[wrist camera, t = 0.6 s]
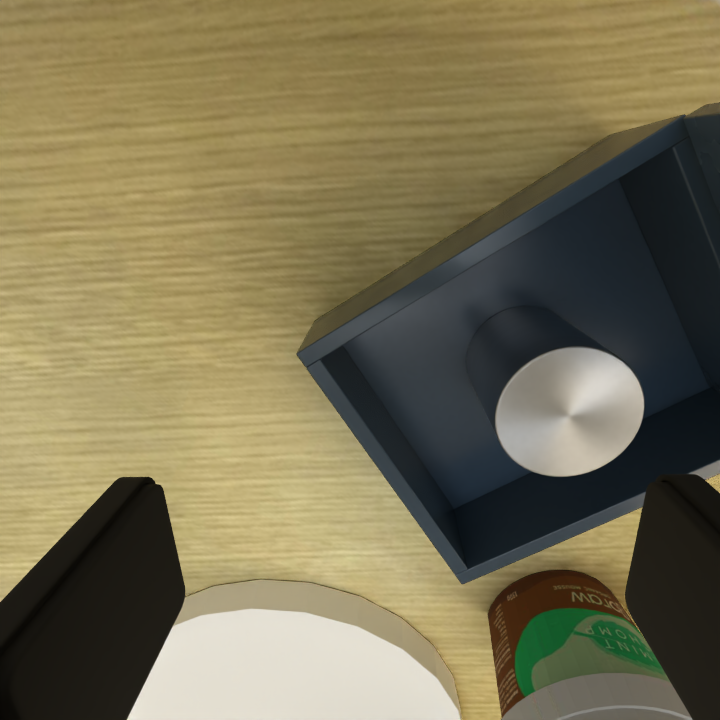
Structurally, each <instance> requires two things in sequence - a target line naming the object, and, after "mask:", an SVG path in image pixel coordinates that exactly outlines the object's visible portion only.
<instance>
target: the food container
mask: <svg viewBox="0 0 720 720" xmlns="http://www.w3.org/2000/svg"><path fill="white" fill-rule="evenodd" d="M488 619H489V627H490V634H491V641H492V649H493V656H494V664H495V671H496V678H497V686H498V693H499V701H500V708H501V715H502V719H501V720H693V719H692V718H691V716H690V714H689V713H688V711H687V709H686V707H685V706H684V704H683V702H682V701H681V699H680V697H679V696H678V694H677V692H676V691H675V689H674V687H673V685H672V684H671V682H670V680H669V679H668V677H667V675H666V674H665V672H664V670H663V669H662V667H661V665H660V664H659V662H658V660H657V658H656V657H655V655H654V653H653V652H652V650H651V648H650V647H649V645H648V643H647V642H646V640H645V639H644V637H643V636H642V635H641V633H640V632H639V630H638V629H637V627H636V626H635V625H634V623H633V622H632V620H631V619H630V618H629V616H628V615H627V613H626V612H625V610H624V609H623V608H622V606H621V605H620V603H619V602H618V600H617V599H616V598H615V596H614V595H613V593H612V592H611V591H610V590H609V589H608V588H607V587H606V586H604V585H603V584H602V583H601V582H600V581H599V580H597V579H595V578H593V577H590V576H588V575H586V574H583V573H579V572H575V571H567V570H550V571H544V572H539V573H535V574H532V575H529V576H526V577H524V578H522V579H519V580H518V581H516V582H514V583H513V584H511V585H510V586H508V587H507V588H506V589H505V590H503V591H502V592H501V593H500V594H499V596H498V597H497V598H496V599H495V601H494V602H493V604H492V605H491V607H490V610H489V612H488Z"/></svg>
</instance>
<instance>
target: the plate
mask: <svg viewBox="0 0 720 720" xmlns="http://www.w3.org/2000/svg"><path fill="white" fill-rule="evenodd" d="M127 720H462V715H461V708H460V704H459V699H458V695H457V691H456V686H455V682H454V677H453V675H452V674H451V672H450V671H449V669H448V668H447V666H446V664H445V663H444V661H443V660H442V658H441V657H440V655H439V653H438V652H437V650H436V649H435V647H434V646H433V645H432V644H431V643H430V642H429V641H428V640H426V639H425V638H424V637H423V636H422V635H421V634H419V633H418V632H417V631H416V630H415V629H414V628H413V627H411V626H410V625H409V624H408V623H407V622H406V621H405V620H403V619H402V618H401V617H399V616H397V615H395V614H393V613H391V612H389V611H387V610H385V609H383V608H382V607H380V606H378V605H376V604H374V603H372V602H370V601H368V600H366V599H364V598H362V597H360V596H357V595H354V594H350V593H346V592H343V591H339V590H335V589H332V588H328V587H325V586H321V585H317V584H314V583H307V582H292V581H277V580H262V579H260V580H253V581H246V582H239V583H232V584H225V585H218V586H213V587H210V588H208V589H205V590H203V591H200V592H198V593H195V594H192V595H190V596H187V597H185V599H184V603H183V606H182V609H181V611H180V613H179V615H178V617H177V619H176V621H175V623H174V625H173V627H172V629H171V631H170V633H169V635H168V637H167V639H166V641H165V643H164V645H163V647H162V649H161V651H160V653H159V656H158V658H157V660H156V662H155V664H154V666H153V668H152V670H151V672H150V674H149V676H148V678H147V680H146V682H145V684H144V686H143V688H142V690H141V692H140V694H139V696H138V698H137V700H136V702H135V704H134V706H133V708H132V710H131V712H130V714H129V716H128V718H127Z"/></svg>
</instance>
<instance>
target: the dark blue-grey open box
mask: <svg viewBox="0 0 720 720" xmlns="http://www.w3.org/2000/svg"><path fill="white" fill-rule="evenodd" d="M685 116H686V115H685V114H684V115H680V116H677V117H673V118H669V119H666V120H662V121H658V122H655V123H651V124H647V125H644V126H640V127H636V128H633V129H629V130H626V131H622V132H618V133H614V134H611V135H609V136H607V137H606V138H604V139H602V140H601V141H599V142H598V143H596V144H594V145H593V146H591V147H590V148H588V149H586V150H585V151H583V152H582V153H580V154H579V155H577V156H575V157H574V158H572V159H571V160H569V161H567V162H566V163H564V164H563V165H561V166H559V167H558V168H556V169H555V170H553V171H552V172H550V173H548V174H547V175H545V176H544V177H542V178H540V179H539V180H537V181H536V182H534V183H533V184H531V185H529V186H528V187H526V188H525V189H523V190H521V191H520V192H518V193H517V194H515V195H513V196H512V197H510V198H509V199H507V200H506V201H504V202H502V203H501V204H499V205H498V206H496V207H494V208H493V209H491V210H490V211H488V212H486V213H485V214H483V215H482V216H480V217H479V218H477V219H475V220H474V221H472V222H471V223H469V224H467V225H466V226H464V227H463V228H461V229H459V230H458V231H456V232H455V233H453V234H452V235H450V236H448V237H447V238H445V239H444V240H442V241H440V242H439V243H437V244H436V245H434V246H432V247H431V248H429V249H428V250H426V251H425V252H423V253H421V254H420V255H418V256H417V257H415V258H413V259H412V260H410V261H409V262H407V263H405V264H404V265H402V266H401V267H399V268H398V269H396V270H394V271H393V272H391V273H390V274H388V275H386V276H385V277H383V278H382V279H380V280H378V281H377V282H375V283H374V284H372V285H371V286H369V287H367V288H366V289H364V290H363V291H361V292H359V293H358V294H356V295H355V296H353V297H351V298H350V299H348V300H347V301H345V302H344V303H342V304H340V305H339V306H337V307H336V308H334V309H332V310H331V311H329V312H328V313H326V314H324V315H323V316H321V317H320V318H318V319H317V320H315V321H314V323H313V325H312V327H311V328H310V330H309V332H308V334H307V336H306V337H305V339H304V341H303V343H302V345H301V346H300V348H299V350H298V352H297V356H298V357H299V359H300V360H301V361H302V363H303V364H304V366H305V367H307V370H308V371H309V373H310V374H311V376H312V377H313V378H314V380H315V381H316V382H317V384H318V385H319V387H320V388H321V389H322V391H323V392H324V394H325V395H326V396H327V398H328V399H329V401H330V402H331V403H332V405H333V406H334V407H335V409H336V410H337V412H338V413H339V414H340V416H341V417H342V419H343V420H344V421H345V423H346V424H347V426H348V427H349V428H350V430H351V431H352V433H353V434H354V435H355V437H356V438H357V439H358V441H359V442H360V444H361V445H362V446H363V448H364V449H365V451H366V452H367V453H368V455H369V456H370V458H371V459H372V460H373V462H374V463H375V464H376V466H377V467H378V469H379V470H380V471H381V473H382V474H383V476H384V477H385V478H386V480H387V481H388V483H389V484H390V485H391V487H392V488H393V489H394V491H395V492H396V494H397V495H398V496H399V498H400V499H401V501H402V502H403V503H404V505H405V506H406V508H407V509H408V510H409V512H410V513H411V514H412V516H413V517H414V519H415V520H416V521H417V523H418V524H419V526H420V527H421V528H422V530H423V531H424V533H425V534H426V535H427V537H428V538H429V539H430V541H431V542H432V544H433V545H434V546H435V548H436V549H437V551H438V552H439V553H440V555H441V556H442V558H443V559H444V560H445V562H446V563H447V564H448V566H449V567H450V569H451V570H452V571H453V573H454V574H455V576H456V577H457V578H458V580H459V581H460V583H461V584H465V583H467V582H470V581H472V580H474V579H476V578H479V577H481V576H483V575H486V574H488V573H490V572H493V571H495V570H497V569H500V568H502V567H504V566H507V565H509V564H511V563H514V562H516V561H518V560H521V559H523V558H525V557H528V556H530V555H532V554H535V553H537V552H539V551H542V550H544V549H546V548H548V547H551V546H553V545H555V544H558V543H560V542H562V541H565V540H567V539H569V538H572V537H574V536H576V535H579V534H581V533H583V532H586V531H588V530H590V529H593V528H595V527H597V526H600V525H602V524H604V523H607V522H609V521H611V520H613V519H616V518H618V517H620V516H623V515H625V514H627V513H630V512H632V511H634V510H637V509H639V508H641V507H643V503H644V498H645V494H646V489H647V486H648V485H649V484H650V483H652V482H655V481H656V479H657V477H658V476H659V475H662V474H695V475H698V476H700V477H701V478H703V479H704V480H706V479H709V478H711V477H713V476H716V475H718V474H720V216H719V213H718V210H717V208H716V205H715V202H714V200H713V197H712V194H711V192H710V189H709V186H708V184H707V181H706V178H705V176H704V173H703V170H702V168H701V165H700V162H699V160H698V157H697V154H696V152H695V149H694V146H693V144H692V141H691V138H690V136H689V133H688V131H687V128H686V125H685V123H684V117H685ZM519 306H535V307H540V308H544V309H547V310H549V311H551V312H553V313H555V314H557V315H558V316H560V317H561V318H562V319H564V320H565V321H567V322H568V323H570V324H571V325H573V326H574V327H576V328H577V329H579V330H580V331H582V332H583V333H585V334H586V335H588V336H589V337H590V338H592V339H593V340H595V341H596V342H598V343H599V344H601V345H602V346H604V347H605V348H607V349H608V350H610V351H611V352H613V353H614V354H615V355H617V356H618V357H620V358H621V359H623V360H624V361H625V362H626V363H627V364H628V365H630V366H631V368H632V369H633V370H634V372H635V373H636V374H637V376H638V378H639V380H640V382H641V385H642V388H643V392H644V398H645V408H644V416H643V419H642V423H641V425H640V428H639V430H638V432H637V434H636V435H635V437H634V439H633V440H632V442H631V443H630V444H629V445H628V447H627V448H626V449H625V450H624V451H623V452H622V453H621V454H620V455H618V456H617V457H616V458H615V459H614V460H612V461H611V462H609V463H607V464H606V465H604V466H602V467H600V468H598V469H596V470H593V471H591V472H588V473H585V474H581V475H576V476H569V477H552V476H546V475H541V474H537V473H534V472H532V471H530V470H527V469H525V468H523V467H522V466H520V465H519V464H517V463H516V462H515V461H513V460H512V459H511V458H510V457H509V456H508V455H507V453H506V452H505V451H504V449H503V448H502V446H501V444H500V442H499V440H498V438H497V436H496V434H495V432H494V430H493V427H492V425H491V423H490V421H489V419H488V417H487V415H486V413H485V410H484V408H483V406H482V404H481V402H480V400H479V398H478V396H477V394H476V391H475V389H474V387H473V385H472V383H471V381H470V379H469V376H468V372H467V366H466V358H467V352H468V348H469V345H470V343H471V340H472V338H473V337H474V335H475V333H476V332H477V331H478V329H479V328H480V327H481V326H482V325H483V324H484V323H485V322H486V321H487V320H489V319H490V318H491V317H493V316H494V315H496V314H498V313H500V312H502V311H504V310H507V309H510V308H514V307H519Z"/></svg>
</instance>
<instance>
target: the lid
mask: <svg viewBox="0 0 720 720" xmlns="http://www.w3.org/2000/svg"><path fill="white" fill-rule="evenodd" d="M684 123H685V125H686V128H687V131H688V133H689V136H690V138H691V141H692V144H693V146H694V149H695V152H696V154H697V157H698V160H699V162H700V165H701V168H702V170H703V173H704V176H705V178H706V181H707V184H708V186H709V189H710V192H711V194H712V197H713V200H714V202H715V205H716V208H717V210H718V213H719V216H720V102H719V103H713V104H707V105H704V106H703V107H701V108H699V109H697V110H696V111H694V112H692V113H691V114H689V115H687V116H685V117H684Z"/></svg>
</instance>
